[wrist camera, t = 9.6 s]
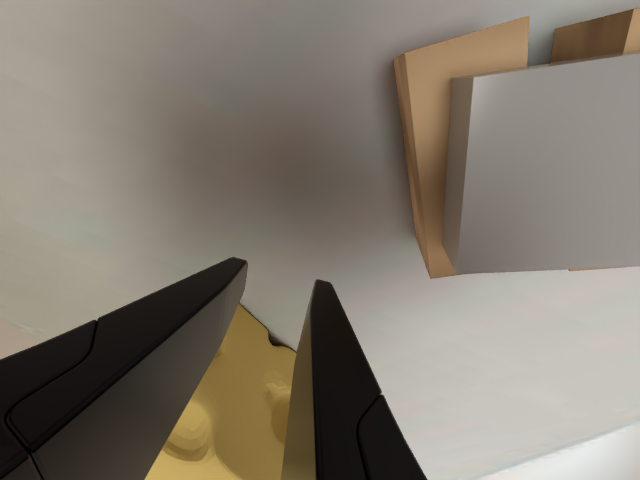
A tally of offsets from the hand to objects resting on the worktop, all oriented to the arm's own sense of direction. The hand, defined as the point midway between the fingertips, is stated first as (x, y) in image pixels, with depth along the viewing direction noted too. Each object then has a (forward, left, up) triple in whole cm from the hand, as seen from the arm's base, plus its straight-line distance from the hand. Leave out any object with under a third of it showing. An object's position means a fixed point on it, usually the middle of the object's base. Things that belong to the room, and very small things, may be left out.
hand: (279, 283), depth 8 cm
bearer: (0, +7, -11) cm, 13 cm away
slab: (0, +11, -7) cm, 13 cm away
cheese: (+16, -10, -11) cm, 22 cm away
